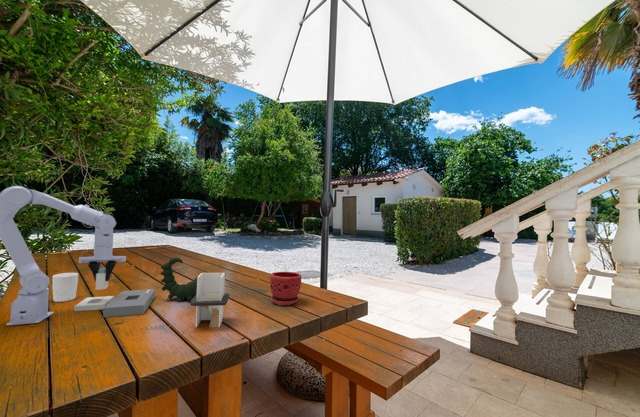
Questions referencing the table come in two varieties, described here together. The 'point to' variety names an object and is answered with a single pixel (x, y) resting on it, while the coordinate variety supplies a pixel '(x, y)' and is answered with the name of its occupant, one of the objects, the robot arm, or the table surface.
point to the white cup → (64, 286)
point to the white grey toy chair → (210, 298)
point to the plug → (101, 279)
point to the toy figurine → (172, 286)
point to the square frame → (93, 303)
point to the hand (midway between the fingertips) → (102, 280)
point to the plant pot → (285, 287)
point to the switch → (129, 303)
